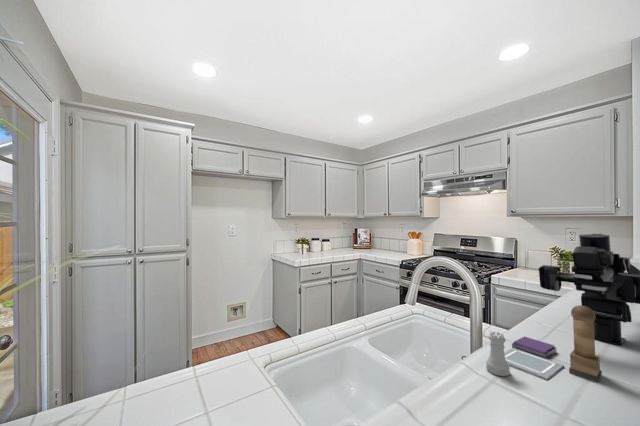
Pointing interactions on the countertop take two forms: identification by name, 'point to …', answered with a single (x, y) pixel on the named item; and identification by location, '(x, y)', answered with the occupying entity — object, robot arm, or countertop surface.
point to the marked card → (532, 363)
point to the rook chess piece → (497, 356)
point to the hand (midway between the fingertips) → (576, 291)
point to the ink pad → (534, 347)
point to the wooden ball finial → (584, 345)
